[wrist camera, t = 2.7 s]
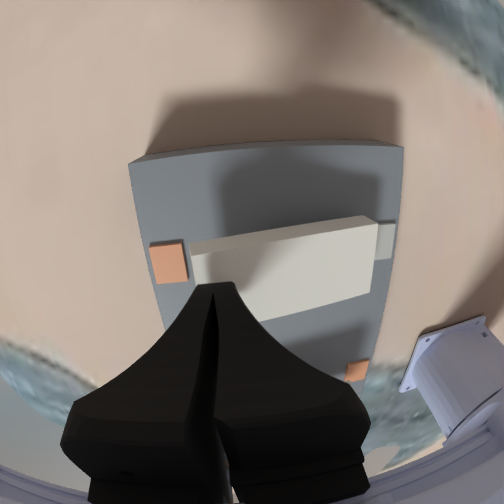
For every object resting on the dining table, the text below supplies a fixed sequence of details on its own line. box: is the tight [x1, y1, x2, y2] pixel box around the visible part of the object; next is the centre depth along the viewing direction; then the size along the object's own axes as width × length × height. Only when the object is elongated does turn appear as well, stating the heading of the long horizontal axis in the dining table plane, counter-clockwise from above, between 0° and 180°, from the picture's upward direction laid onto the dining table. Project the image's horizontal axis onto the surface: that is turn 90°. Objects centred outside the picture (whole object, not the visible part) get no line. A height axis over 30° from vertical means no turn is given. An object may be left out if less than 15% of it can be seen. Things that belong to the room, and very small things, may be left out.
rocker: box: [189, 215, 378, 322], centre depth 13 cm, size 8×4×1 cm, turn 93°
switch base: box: [128, 140, 404, 398], centre depth 18 cm, size 13×20×4 cm, turn 4°
